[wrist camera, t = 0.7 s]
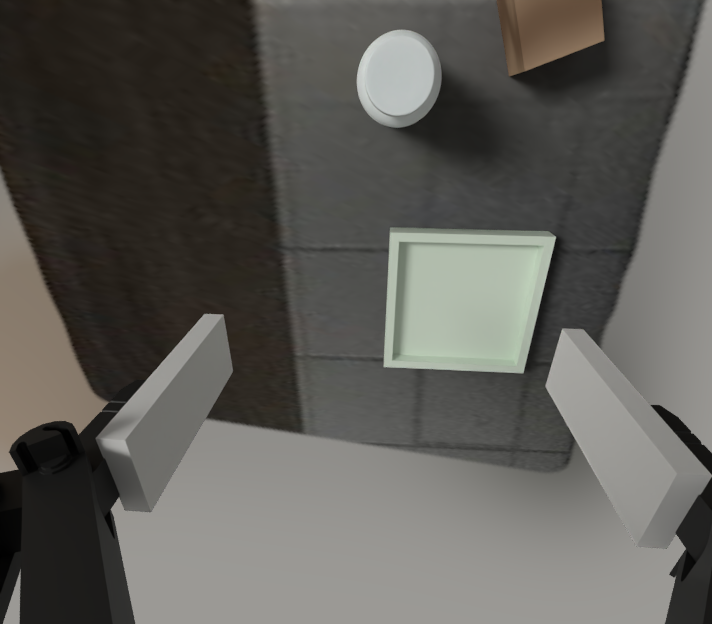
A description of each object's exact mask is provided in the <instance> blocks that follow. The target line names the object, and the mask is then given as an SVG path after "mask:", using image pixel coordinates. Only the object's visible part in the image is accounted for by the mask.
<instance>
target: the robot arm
mask: <svg viewBox="0 0 712 624" xmlns="http://www.w3.org/2000/svg"><path fill="white" fill-rule="evenodd" d="M232 372H233V368H232V362H231V357H230V351H229V345H228V339H227V333H226V327H225V321H224V315H217V314H204V315H203V316H202V318H201V319H200V320H199V321H198V322H197V323H196V324H195V326H194V327H193V328H192V329H191V330H190V331H189V332H188V334H187V335H186V336H185V337H184V338H183V339H182V340H181V342H180V343H179V344H178V345H177V346H176V347H175V348H174V349H173V351H172V352H171V353H170V354H169V355H168V356H167V357H166V359H165V360H164V361H163V362H162V363H161V364H160V365H159V367H158V368H157V369H156V370H155V371H154V372H153V373H152V375H151V376H150V377H149V378H148V379H147V380H135V381H134V382H132V383H131V384H129V385H128V386H126V387H124V388H123V389H121V390H120V391H119V392H118V394H117V395H116V396H115V397H114V398H113V399H112V400H111V403H108V404H107V405H106V406H105V407H104V409H103V410H102V412H100V413H99V414H98V415H97V416H96V417H95V418H94V419H93V420H92V421H91V422H90V424H89V425H88V426H87V427H86V428H85V429H84V430H83V431H82V432H81V433H80V434H79V435H78V434H77V431H76V429H75V427H74V426H73V424H72V423H69V422H66V421H54V422H51V423H46V424H42V425H40V426H38V427H36V428H33V429H31V430H29V431H28V432H26V433H25V434H23V435H22V436H20V437H19V438H18V439H17V440H16V441H15V442H14V444H13V445H12V447H11V449H10V451H9V453H10V455H11V457H12V458H13V460H14V462H15V464H16V465H17V467H18V469H19V470H14V471H8V472H3V473H0V624H3V621H4V618H5V615H6V612H7V609H8V606H9V603H10V600H11V596H12V594H13V591H14V587H15V584H16V581H17V578H18V575H19V572H20V569H21V586H20V589H21V590H20V624H135V620H134V615H133V610H132V606H131V601H130V596H129V591H128V586H127V581H126V577H125V571H124V567H123V561H122V556H121V551H120V546H119V542H118V536H117V531H116V526H115V521H114V517H113V514H112V512H111V508H112V506H113V505H114V503H115V502H116V500H117V499H118V497H120V500H121V502H122V505H123V507H124V510H129V511H141V512H151V511H152V510H153V508H154V506H155V504H156V503H157V501H158V499H159V498H160V496H161V494H162V492H163V491H164V489H165V487H166V485H167V484H168V482H169V480H170V479H171V477H172V475H173V473H174V472H175V470H176V468H177V467H178V465H179V463H180V462H181V460H182V458H183V456H184V455H185V453H186V451H187V449H188V448H189V446H190V444H191V442H192V441H193V439H194V437H195V436H196V434H197V432H198V431H199V429H200V427H201V425H202V424H203V422H204V420H205V419H206V417H207V415H208V413H209V412H210V410H211V408H212V406H213V405H214V403H215V401H216V400H217V398H218V396H219V394H220V393H221V391H222V389H223V388H224V386H225V384H226V382H227V381H228V379H229V377H230V375H231V374H232ZM545 387H546V388H547V390H548V392H549V394H550V396H551V397H552V399H553V401H554V403H555V404H556V406H557V408H558V410H559V411H560V413H561V415H562V417H563V418H564V420H565V422H566V424H567V425H568V427H569V429H570V431H571V433H572V434H573V436H574V438H575V440H576V441H577V443H578V445H579V447H580V448H581V450H582V452H583V454H584V455H585V457H586V459H587V461H588V462H589V464H590V466H591V468H592V470H593V471H594V473H595V475H596V477H597V478H598V480H599V482H600V484H601V485H602V487H603V489H604V491H605V492H606V494H607V496H608V498H609V499H610V501H611V503H612V505H613V506H614V508H615V510H616V512H617V514H618V515H619V517H620V519H621V521H622V522H623V524H624V526H625V528H626V529H627V531H628V533H629V535H630V536H631V538H632V540H633V542H634V544H635V545H636V547H648V548H662V549H667V548H668V546H669V545H670V543H671V541H672V540H673V538H674V537H675V535H676V534H677V536H678V537H679V539H680V540H681V542H682V543H683V545H684V546H685V547H686V550H685V551H684V553H683V555H682V556H681V557H680V559H679V560H678V562H677V563H676V565H675V566H674V568H673V569H672V571H671V572H670V575H671V576H673V577H675V576H676V579H675V584H674V588H673V592H672V596H671V601H670V605H669V609H668V614H667V618H666V622H665V624H712V453H711V452H710V451H709V450H708V449H707V448H706V447H705V446H704V445H702V444H701V441H700V440H699V439H698V438H697V437H696V436H695V435H694V434H691V431H690V430H689V429H688V427H687V426H686V425H684V423H683V422H682V421H681V420H680V419H679V418H678V417H677V416H675V415H674V414H672V413H671V412H669V411H667V410H666V409H665V408H663V407H662V406H660V405H649V403H648V402H647V401H646V400H645V399H644V398H643V397H642V396H641V394H640V393H639V392H638V391H637V390H636V389H635V387H633V385H632V384H631V383H630V382H629V381H628V380H627V378H626V377H625V376H624V375H623V374H622V373H621V372H620V371H619V369H618V368H617V367H616V366H615V365H614V364H613V363H612V362H611V360H610V359H609V358H608V357H607V356H606V355H605V353H604V352H603V351H602V350H601V349H600V348H599V347H598V346H597V344H596V343H595V342H594V341H593V340H592V339H591V338H590V336H589V335H588V334H587V333H586V332H585V331H584V330H583V329H562V332H561V335H560V338H559V342H558V345H557V349H556V352H555V355H554V359H553V362H552V366H551V369H550V373H549V376H548V379H547V383H546V386H545Z"/></svg>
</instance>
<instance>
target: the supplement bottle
mask: <svg viewBox="0 0 712 624" xmlns="http://www.w3.org/2000/svg"><path fill="white" fill-rule="evenodd" d="M441 80H442V72H441V65H440V61H439V58H438V55H437V53H436V51H435V49H434V48H433V46H432V45H431V44H430V42H429V41H428V40H427V39H426V38H424V37H423V36H421V35H420V34H418V33H416V32H413V31H409V30H394V31H391V32H388V33H386V34H384V35H382V36H380V37H379V38H377V39H376V40H375V41H374V42H373V43H372V44H371V45H370V46H369V47H368V49H367V50H366V52H365V53H364V55H363V57H362V59H361V62H360V65H359V68H358V73H357V90H358V95H359V98H360V101H361V103H362V105H363V107H364V109H365V110H366V112H367V113H368V114H369V116H370V117H371V118H372V119H374V120H375V121H377V122H378V123H380V124H382V125H385V126H388V127H394V128H401V127H406V126H409V125H412V124H414V123H416V122H417V121H419V120H420V119H422V118H423V117H424V116H425V115H426V114H427V113H428V112H429V111H430V109H431V108H432V107H433V105H434V103H435V101H436V99H437V97H438V94H439V91H440V87H441Z"/></svg>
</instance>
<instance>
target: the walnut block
mask: <svg viewBox="0 0 712 624" xmlns="http://www.w3.org/2000/svg"><path fill="white" fill-rule="evenodd" d="M497 5H498V12H499V18H500V24H501V30H502V36H503V42H504V48H505V54H506V60H507V67H508V73H509V76H512V75H515V74H518V73H521V72H524V71H527V70H530V69H532V68H535V67H537V66H540V65H543V64H545V63H548V62H550V61H553V60H556V59H558V58H561V57H563V56H566V55H568V54H571V53H574V52H576V51H579V50H581V49H584V48H586V47H589V46H592V45H594V44H597V43H599V42H602V41H604V27H603V13H602V0H497Z"/></svg>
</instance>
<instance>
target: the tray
mask: <svg viewBox="0 0 712 624" xmlns="http://www.w3.org/2000/svg"><path fill="white" fill-rule="evenodd" d="M555 239H556V236H554V235H553V234H551V233H550V232H549V231H519V230H479V229H439V228H399V227H390V240H389V262H388V283H387V304H386V325H385V347H384V367H398V368H419V369H441V370H463V371H485V372H506V373H524V368H525V364H526V360H527V356H528V352H529V348H530V343H531V339H532V335H533V331H534V327H535V323H536V318H537V314H538V310H539V306H540V302H541V298H542V293H543V289H544V285H545V281H546V277H547V273H548V269H549V264H550V260H551V256H552V252H553V248H554V244H555Z"/></svg>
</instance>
